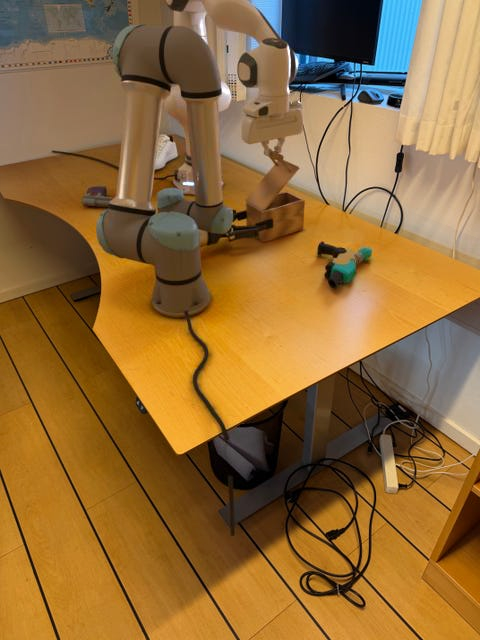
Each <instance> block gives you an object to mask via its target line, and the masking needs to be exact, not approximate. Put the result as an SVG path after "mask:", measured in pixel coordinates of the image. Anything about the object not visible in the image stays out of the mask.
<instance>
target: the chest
mask: <svg viewBox="0 0 480 640" xmlns="http://www.w3.org/2000/svg"><path fill="white" fill-rule="evenodd" d="M305 203H306V201H305V199H303V198H302V197H300V196H298V195H296V194H294V193H293V192H290V191H288V190H285V191H280V192H279V194H278V195H277V196H276V197H275V198H274V200H273V201H272V202H271V203H270V204H269V206H268V207H267V208H266V209H265V210H264V212H263V211H262V210H260V209H258V208H257V207H255V206H253V205H252V204H250V203H248V202H247V201H246V202H245V210H246V219H245V220H246V221H245V222H246V226H248V225H255V223H259V222H263V221H266V220H270V219H273V228H270V229H266V230H263V231H260V232H259V236H258V237H255V238H256V239H257V240H258V241H260V242H261V243H265V242H269V241H271V240H275V239H278V238H281V237H284V236H287V235H290V234H293V233H296V232H299V231H302V230H304V223H305V222H304V221H305V206H306V205H305Z"/></svg>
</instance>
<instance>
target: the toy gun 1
mask: <svg viewBox="0 0 480 640" xmlns="http://www.w3.org/2000/svg"><path fill="white" fill-rule="evenodd" d="M107 193H108V188H107V186H106V185H93V186H91V187H88V188H87V190H86V195H85V194H84V195H83V196H82V199H81V201H80V204H82V206H87V207H99V208H109V202H110V201H111V200H112V199H114V198H115V197H112V196H109V197H108V196H107Z"/></svg>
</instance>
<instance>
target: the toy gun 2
mask: <svg viewBox="0 0 480 640" xmlns="http://www.w3.org/2000/svg"><path fill="white" fill-rule="evenodd" d="M318 243H319V244H318V246H317V252H316V254H317V256H320V257H321V256H322V255H327V256H331V257H332V260H331V261H328V262H327V264H326V265H325V266H324V269H325V272H324V275H323V276H324V278H325V279H327V284H328V286H329V287H330V288H331V290H337V288H338V287H339V286H340V285H341V284H342V283H344V284H348V283H349V282H351V281H352V280H353V279H355V276H356V274H357V268H356V266H357V265H359V264H360V263H362V262H364V261H365V262H366V261H367V260H369V259H370V258H371V257H372V255H373V249H372V248H371V247H369V246H368V247H367V246H364V247H363V246H362V247H361V248H359V249H358V251H357V252H356V253H355V250H354V249H352V248H347V247H342V246H340V247H337V246H335V245H331V244H330V243H329V244H328V243H325V241H323V240H321V241H320V242H318Z"/></svg>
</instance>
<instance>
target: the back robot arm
mask: <svg viewBox="0 0 480 640" xmlns="http://www.w3.org/2000/svg"><path fill="white" fill-rule="evenodd" d="M164 2H165V5H166V6H167V7H168V9H170V10H172V11H173V26H184V27H187V28H190V29H192V30H194V31H195V32H196V33H198V34H199V35H200V36H201V37H202V38H203V39H204V40H205V42H206V43H207V45H208V46H209V43H208V42H209V41H208V34H207V27H206V26H207V25H206V16H208V18H209V20H210V21H211V22H212V23H213V25H215V26H216V27H217V28H219V29H221V30H223V31H226V32H227V31H228V32H234V33H239V34H243V35H247V36H249V37H251V38H252V39H254V40H255V41H256V43H257V44H258V46H257V47H255V48H253V49H250V50H248V51H246V52H243V53H242V54H241V56H240V57H239V59H238V62H237V70H236V71H237V73H236V74H237V77H238V80H239V82H240V83H241V85H242V86H244V87H245V88H249V89H258V96H257V97H256V98H255V99H253V100H251V101H250V102H248V103H246V104H245V105H243V108H242V111H243V114H245V115H244V116H243V117H242V120H241V140H242V141H243V143H245V144H247V145H254V144H259V143H260V144H261V146H262V147H263V155H264V154H265V155H264V156H266V155H267V156H266V157H268V155H271V154H272V153H271V152H272V151H274V152H277V153H279V154H281V153H282V147H283V145H284V144H285V141H286V138H288V137H292V136H297V135H301V134H302V132H303V131H304V119H303V104H302V103H301V102H300V101H299V100H294V101H290V95H291V94H290V93H291V92H290V88H289V87H290V86H289V85H290V84H291V83H293V81H294V80H295V78H296V76H297V73H298V71H299V60H298V56H297V54H296V53H295V51H294V50H293V49H292V48H291V46H289V44H288V42H287V41H285V40H284V39H283V38H281V36H280V35H279V34H278V33H277V31H276V29H275V28H274V27H273V26H272V24H271V23H270V22H269V20H268V19H267V18H266V16H265V15H264V14H263V12H262V11H261V10H260V9H259V8H258V7H256V6H255V5H254V4H252V3H251V2H250V1H248V0H164ZM221 87H222V95H221V97H220V98H219V99H218V113H221V112H223V111H226V110H227V109H228V108H229V107H230V104H231V101H232V93H231V90H230V87H229V86H228V84H227V83H226V82H225V81H223V80H222V79H221ZM163 106H164V109H165V112H166V113H167V114H168V116H170V117H171V118H173V119H174V120H175V121H176V122H177V123H178V124H179V125H180V127H181V128H182V131H183V134H184V139H185V147H186V152H184V153H183V154H184V163H183V164H181V165H180V167H179V168H178V169H174V171H173V174H169V175H165V176H164V177H154V180H166V179H168V178H173V177H174V179H173V180H172V184H173V185H174V186H175V188H177V189H179V190H181V191H182V192H183V195H194V196H195V193H194V182H193V172H192V161H191V150H190V140H189V129H188V118H187V108H186V101H185V100H184V99H183V98H182V97H181V91H180V86H179V85H178V84H176V85H174V86H171V93H170V96H169V97H167V98H166V99H165V100H164V101H163ZM273 140H277V143H276V145H275V146H273V149H272V148H270V147H269V144H270V141H273ZM51 153H58V154H65V155H72V156H77V157H82V158H87V159H91V160H95V161H98V162H101V163H103V164H106V165H108V166H111V167H113V168H116V169H118V170H119V165H118V166H117V165H116V164H113V163H110V162H109V161H105V160H103V159H100V158H97V157H94V156H89V155H85V154H80V153H74V152H67V151H60V150H51ZM223 186H224V181H223V180H222V187H223Z"/></svg>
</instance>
